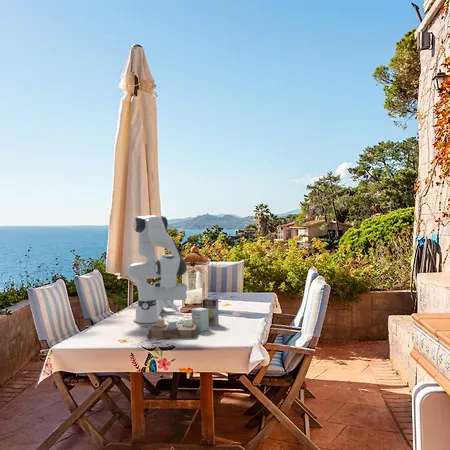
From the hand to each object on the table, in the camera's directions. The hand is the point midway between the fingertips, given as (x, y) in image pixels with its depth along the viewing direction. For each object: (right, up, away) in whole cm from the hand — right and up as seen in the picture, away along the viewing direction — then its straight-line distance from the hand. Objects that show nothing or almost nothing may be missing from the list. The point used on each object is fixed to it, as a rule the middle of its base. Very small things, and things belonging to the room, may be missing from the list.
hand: (169, 307), depth 283 cm
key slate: (+2, -14, -1) cm, 14 cm away
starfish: (-16, -17, +82) cm, 85 cm away
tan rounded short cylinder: (-5, -14, +6) cm, 16 cm away
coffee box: (+23, -16, +30) cm, 41 cm away
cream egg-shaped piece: (+10, -14, +5) cm, 18 cm away
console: (+2, -16, +2) cm, 16 cm away
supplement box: (+17, -16, +15) cm, 28 cm away
